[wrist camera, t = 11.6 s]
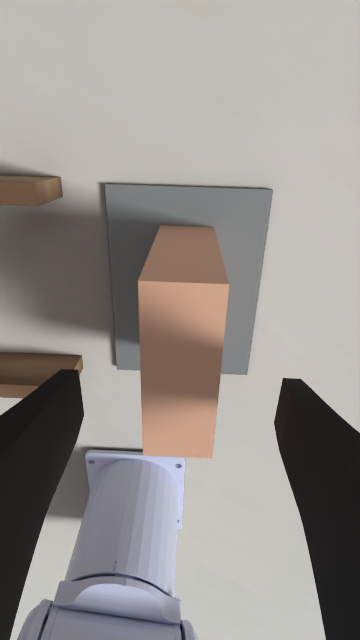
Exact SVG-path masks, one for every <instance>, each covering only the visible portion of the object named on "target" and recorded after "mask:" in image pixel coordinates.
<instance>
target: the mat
mask: <svg viewBox="0 0 360 640" xmlns="http://www.w3.org/2000/svg"><path fill="white" fill-rule="evenodd" d="M105 194H106V210H107V225H108V240H109V256H110V271H111V286H112V301H113V317H114V332H115V347H116V363H117V370H140V371H141V368H140V333H139V298H138V280H139V277H140V275H141V272H142V270H143V267H144V265H145V262H146V260H147V257H148V255H149V252H150V250H151V247H152V245H153V242H154V240H155V237H156V235H157V233H158V230H159V228H160V225H169V226H198V227H214V229H215V233H216V237H217V241H218V244H219V248H220V252H221V255H222V259H223V263H224V266H225V270H226V274H227V278H228V281H229V293H228V303H227V313H226V323H225V333H224V344H223V354H222V364H221V374H237V375H247V372H248V365H249V358H250V351H251V344H252V337H253V329H254V322H255V315H256V308H257V301H258V294H259V287H260V280H261V273H262V265H263V258H264V251H265V244H266V237H267V230H268V223H269V216H270V209H271V201H272V194H273V190H272V189H255V188H225V187H194V186H164V185H134V184H105Z"/></svg>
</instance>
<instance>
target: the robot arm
mask: <svg viewBox="0 0 360 640" xmlns="http://www.w3.org/2000/svg"><path fill="white" fill-rule="evenodd" d="M83 417H84V410H83V402H82V394H81V386H80V378H79V370H74V369H61V370H59V371H58V372H57V373H55V374H54V375H53V376H52V377H50V378H49V379H48V380H47V381H45V382H44V383H43V384H42V385H40V386H39V387H38V388H37V389H35V390H34V391H33V392H31V393H30V394H29V395H28V396H26V397H25V398H24V399H22V400H21V401H20V402H19V403H17V404H16V405H14V406H13V407H12V408H10V409H9V410H7V411H6V412H5V413H3V414H2V415H0V640H10V636H11V632H12V628H13V625H14V621H15V617H16V613H17V610H18V606H19V602H20V599H21V595H22V592H23V588H24V584H25V581H26V577H27V574H28V571H29V567H30V564H31V561H32V557H33V554H34V550H35V547H36V544H37V541H38V538H39V534H40V531H41V528H42V525H43V522H44V519H45V516H46V513H47V510H48V508H49V505H50V502H51V500H52V497H53V495H54V493H55V490H56V488H57V486H58V483H59V481H60V479H61V476H62V474H63V472H64V470H65V467H66V465H67V463H68V460H69V458H70V455H71V453H72V451H73V448H74V446H75V444H76V441H77V438H78V435H79V431H80V428H81V424H82V420H83ZM274 425H275V430H276V436H277V441H278V446H279V451H280V454H281V457H282V460H283V463H284V467H285V470H286V473H287V476H288V479H289V482H290V485H291V488H292V491H293V494H294V497H295V500H296V503H297V506H298V509H299V513H300V516H301V520H302V523H303V527H304V532H305V536H306V540H307V545H308V549H309V554H310V559H311V563H312V568H313V573H314V578H315V583H316V588H317V593H318V598H319V604H320V609H321V615H322V620H323V625H324V631H325V636H326V640H360V433H359V432H358V431H357V430H355V429H354V428H353V427H352V426H351V425H349V424H348V423H347V422H346V421H345V420H344V419H343V418H341V417H340V416H339V415H338V414H337V413H336V412H335V411H334V410H333V409H332V408H331V407H330V406H328V405H327V404H326V403H325V402H324V401H323V400H322V399H321V398H320V397H319V396H318V395H317V394H316V393H315V392H314V391H313V390H312V389H311V388H310V387H309V386H308V385H307V384H306V383H305V382H303V381H302V380H301V379H291V378H283V381H282V386H281V391H280V396H279V401H278V406H277V411H276V416H275V421H274ZM85 460H86V468H87V475H88V483H89V490H90V495H89V499H88V502H87V506H86V509H85V512H84V516H83V519H82V523H81V526H80V529H79V533H78V536H77V540H76V543H75V546H74V550H73V553H72V557H71V560H70V563H69V567H68V570H67V574H66V577H65V580H64V581H60V583H59V586H58V589H57V593H56V596H55V599H54V603H53V601H51V600H47V599H44V600H42V601H41V602H40V604H39V605H38V606H36V607H35V608H34V609H33V610H31V611H30V613H29V614H28V616H27V618H26V620H25V622H24V624H23V627H22V629H21V631H20V634H19V636H18V639H17V640H199V639H198V637H197V635H196V633H195V632H194V629H193V627H192V625H191V623H190V622H189V621H187V620H181V600H180V599H177V598H174V596H175V571H176V545H177V531H179V530H181V528H182V509H183V488H184V468H185V457H174V456H152V455H143V452H132V451H110V450H88V451H87V452H86V455H85Z"/></svg>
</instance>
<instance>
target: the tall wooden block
mask: <svg viewBox="0 0 360 640" xmlns="http://www.w3.org/2000/svg"><path fill="white" fill-rule="evenodd" d="M228 293H229V281H228V278H227V274H226V270H225V266H224V263H223V259H222V255H221V252H220V248H219V244H218V241H217V237H216V233H215V229H214V227H198V226H169V225H160V228H159V230H158V233H157V235H156V237H155V240H154V242H153V245H152V247H151V250H150V252H149V255H148V257H147V260H146V262H145V265H144V267H143V270H142V272H141V275H140V277H139V280H138V298H139V333H140V368H141V404H142V439H143V455H152V456H174V457H196V458H212V456H213V445H214V435H215V425H216V415H217V405H218V394H219V384H220V374H221V364H222V354H223V344H224V333H225V323H226V313H227V303H228Z"/></svg>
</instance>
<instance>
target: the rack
mask: <svg viewBox="0 0 360 640" xmlns="http://www.w3.org/2000/svg"><path fill="white" fill-rule="evenodd" d="M60 197H63V194H62V186H61V177H41V176H10V175H0V205H18V206H39V205H42V204H45V203H47V202H50V201H52V200H55V199H58V198H60ZM61 369H74V370H79V375H80V373H81V371H82V369H83V363H82V356H75V355H51V354H26V353H2V352H0V397H4V398H25V397H26V396H28V395H29V394H30V393H31V392H33V391H34V390H35V389H37V388H38V387H39V386H40V385H42V384H43V383H44V382H45V381H47V380H48V379H49V378H50V377H52V376H53V375H54V374H55V373H57V372H58V371H59V370H61Z"/></svg>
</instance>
